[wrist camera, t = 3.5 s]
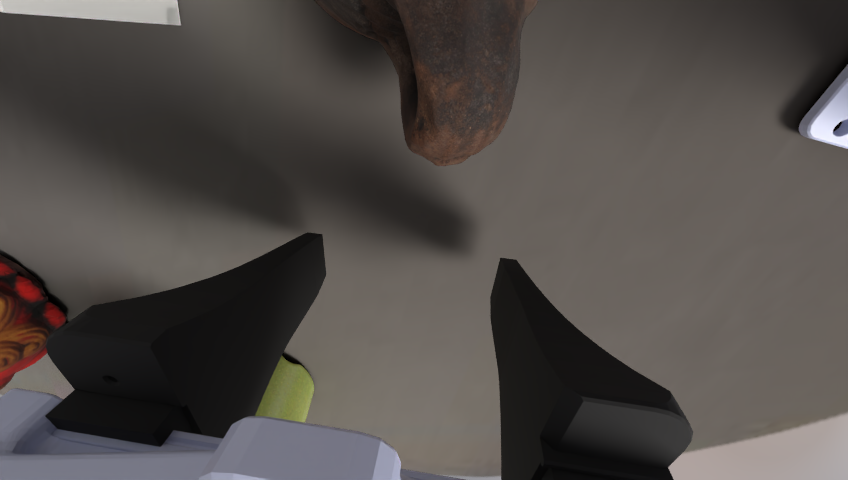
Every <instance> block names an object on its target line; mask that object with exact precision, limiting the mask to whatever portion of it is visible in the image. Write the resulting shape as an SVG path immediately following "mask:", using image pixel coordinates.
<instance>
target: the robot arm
mask: <svg viewBox="0 0 848 480" xmlns="http://www.w3.org/2000/svg"><path fill="white" fill-rule="evenodd" d="M841 121H842V124H841V126H840V127H839V128H838V129H837V130H836V131H834V132H833V129H834V128H835V126H836V125H837V124H839V123H840V122H841ZM799 132H800V134H801V135H802V136H804V137H807V138H810V139H814V140H817V141H821V142H825V143H828V144H832V145H835V146H839V147H843V148H846V149H848V65H847V66H846V67H845V68H844V69H843V71H842V72H841V73H840V74H839V75H838V77H837V78H836V79H835V80H834V81H833V83H832V84H831V85H830V86H829V87H828V89H827V90H826V91H825V92H824V94H823V95H822V96H821V97H820V98H819V100H818V101H817V102H816V103H815V104H814V106H813V107H812V108H811V109H810V110H809V112H808V113H807V114H806V115H805V116H804V118H803V119H802V121H801V123H800V125H799ZM325 276H326V268H325V258H324V247H323V237H322V234H315V233H305V234H303V235H301V236H299V237H297V238H295V239H293V240H291V241H289V242H287V243H286V244H284V245H282V246H280V247H278V248H276V249H274V250H272V251H270V252H268V253H266V254H264V255H262V256H260V257H258V258H256V259H254V260H252V261H250V262H248V263H245V264H243V265H241V266H239V267H237V268H234V269H232V270H229V271H227V272H224V273H221V274H219V275H216V276H213V277H211V278H208V279H204V280H201V281H198V282H195V283H192V284H188V285H185V286H182V287H179V288H175V289H171V290H167V291H163V292H159V293H155V294H151V295H146V296H142V297H137V298H132V299H126V300H121V301H116V302H110V303H105V304H99V305H93V306H91V307H90V308H88V309H87V310H85V311H84V312H83V313H81V314H80V315H78V316H77V317H76V318H74V319H73V320H71V321H70V322H69V323H67V324H66V325H64V326H63V327H61V328H60V329H59V330H57V331H56V332H54V333H53V334H51V335H50V336H49V337H48V339H47V342H46V349H47V353H48V355H49V357H50V358H51V360H52V362H53V363H54V364H55V365H56V367H57V368H58V369H59V370H60V372H61V373H62V374H63V375H64V377H65V378H66V379H67V380H68V382H69V383H70V384H71V385H72V387H73V388H74V389H75V390H74V391H73V392H72V393H71V394H70V395H68V396H67V397H66V398H65V399H64V400H63V399H61V398H60V397H58V396H56V395H53V394H49V393H43V392H37V391H31V390H25V389H19V388H15V389H11V390H10V391H8V392H7V393H6V394H4V395H3V396H2V397H0V480H464V479H458V478H452V477H447V476H441V475H435V474H429V473H423V472H417V471H411V470H405V469H401V462H400V459H399V457H398V455H397V452H396V451H395V449H394V448H393V447H392V446H391V445H389V444H388V443H386V442H385V441H383V440H382V439H381V438H379V437H376V436H372V435H369V434H366V433H363V432H359V431H353V430H347V429H341V428H335V427H328V426H322V425H316V424H310V423H304V422H298V421H292V420H286V419H280V418H274V417H268V416H255V415H256V412H257V410H258V408H259V405H260V403H261V400H262V398H263V395H264V393H265V391H266V389H267V386H268V384H269V382H270V380H271V377H272V375H273V373H274V371H275V369H276V367H277V364H278V362H279V360H280V358H281V356H282V354H283V352H284V350H285V348H286V346H287V344H288V342H289V341H290V339H291V337H292V336H293V334H294V332H295V331H296V329H297V328H298V326H299V324H300V323H301V321H302V320H303V318H304V316H305V315H306V313H307V311H308V310H309V308H310V307H311V305H312V303H313V302H314V300H315V298H316V297H317V295H318V293H319V290H320V288H321V286H322V284H323V281H324V279H325ZM491 325H492V332H493V339H494V345H495V352H496V359H497V365H498V373H499V385H500V411H501V479H502V480H673V477H672V475H671V473H670V471H669V469H668V467H669V466H670V465H671V464H672V463H673V462H674V461H675V460H676V459H677V457H678V456H680V455H681V454H682V453H683V452H684V451H685V449H686V448H687V447H688V445H689V444H690V442H691V440H692V435H693V431H692V428H691V426H690V424H689V422H688V420H687V419H686V417H685V415H684V413H683V412H682V410H681V408H680V407H679V405H678V403H677V402H676V400H675V398H674V397H673V395H672V394H671V392H670V391H669V390H667V389H665V388H663V387H662V386H660V385H658V384H657V383H655V382H653V381H651V380H650V379H648V378H646V377H645V376H643V375H641V374H639V373H638V372H636V371H634V370H633V369H631V368H630V367H628V366H627V365H625V364H624V363H622V362H621V361H619V360H618V359H616V358H615V357H613V356H612V355H610V354H609V353H608V352H606V351H605V350H603V349H602V348H601V347H599V346H598V345H597V344H596V343H594V342H593V341H592V340H590V339H589V338H588V337H587V336H585V335H584V334H583V333H582V332H581V331H579V330H578V329H577V328H576V327H575V326H574V325H573V324H572V323H570V322H569V321H568V320H567V319H566V318H565V317H564V316H563V315H562V314H561V313H560V312H559V311H558V310H557V309H556V308H555V307H554V306H553V305H552V304H551V303H550V301H549V300H548V299H547V298H546V297H545V296H544V295H543V294H542V292H541V291H540V290H539V289H538V288H537V286H536V285H535V284H534V283H533V281H532V280H531V279H530V277H529V276H528V275H527V274H526V272H525V271H524V270H523V268H522V267H521V266H520V264H519V263H518V262H517V260H513V259H506V258H500V262H499V266H498V270H497V274H496V278H495V282H494V285H493V289H492V293H491Z"/></svg>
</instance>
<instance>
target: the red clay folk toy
mask: <svg viewBox="0 0 848 480" xmlns="http://www.w3.org/2000/svg"><path fill="white" fill-rule="evenodd" d="M66 317H67V315H65V313H64V312H63V311H62V310H61V309H60V308H59V307H57V306H56V305H54V304H53V303H51V302H50V301H48V297H47V296H46V295H45V292H44V291H43V287H42V284H41V283H40V282H39V281H38V280H37V279H36V278H35V277H34V276H32V275H31V274H30V273H28V272H27V271H26V270H25V269H23V268H22V267H21V266H19V265H18V264H16V263H14V262H13V261H11V260H9V259H7V258H5V257H3V256H1V255H0V390H1V389H2V388H3V387H5V386H6V385H7V383H8V382H9V381H10V380H11V379H12V377H13V376H14V374H15V373H16V372H18V371H20V370H23V369H25V368H27V367H29V366H30V365H32V364H34V363H35V362H37V361H38V360H39V359H41V358H42V357H43V356H44V355H45V354H46V353H47V349H46V342H47V339H48V337H49V336H50V335H51V334H53V333H54V332H56V331H57V330H59V329H60V328H61V327H63V326H64V325H66V324H65V321H66V320H67V319H66Z"/></svg>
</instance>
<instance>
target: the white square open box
mask: <svg viewBox="0 0 848 480" xmlns="http://www.w3.org/2000/svg"><path fill="white" fill-rule="evenodd" d="M0 12H4V13H16V14H29V15H43V16H57V17H70V18H84V19H98V20H111V21H125V22H139V23H152V24H166V25H180V26H181V22H180V15H179V8H178V1H177V0H0Z"/></svg>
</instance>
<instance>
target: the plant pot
mask: <svg viewBox="0 0 848 480" xmlns="http://www.w3.org/2000/svg"><path fill="white" fill-rule="evenodd" d="M313 392H314V384H313V381H312V378H311V377H310V375H309V373H308V372H307V371H306V370H305V369H304V367H303V366H301V365H300V364H293V363H291V362H289V361H287V360H286V359H285V358H284V357H283V356H281V358H280V360H279V362H278V364H277V367H276V369H275V371H274V373H273V375H272V377H271V380H270V382H269V384H268V386H267V389H266V391H265V393H264V395H263V398H262V400H261V403H260V405H259V408H258V410H257V412H256V415H255V416H268V417H274V418H280V419H286V420H292V421H298V422H304V423H305V420H306V417H307V413H308V410H309V406H310V403H311V399H312V396H313Z"/></svg>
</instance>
